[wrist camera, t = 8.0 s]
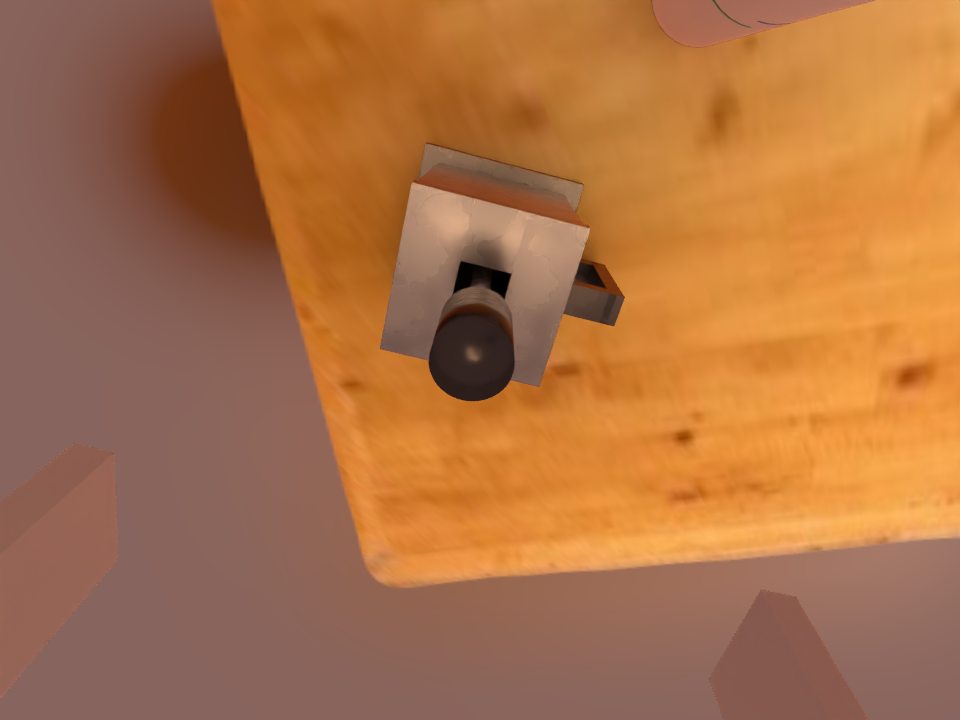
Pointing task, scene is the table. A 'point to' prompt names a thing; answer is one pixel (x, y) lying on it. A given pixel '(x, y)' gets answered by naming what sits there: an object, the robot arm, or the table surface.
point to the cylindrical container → (735, 17)
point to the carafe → (495, 254)
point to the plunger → (474, 336)
